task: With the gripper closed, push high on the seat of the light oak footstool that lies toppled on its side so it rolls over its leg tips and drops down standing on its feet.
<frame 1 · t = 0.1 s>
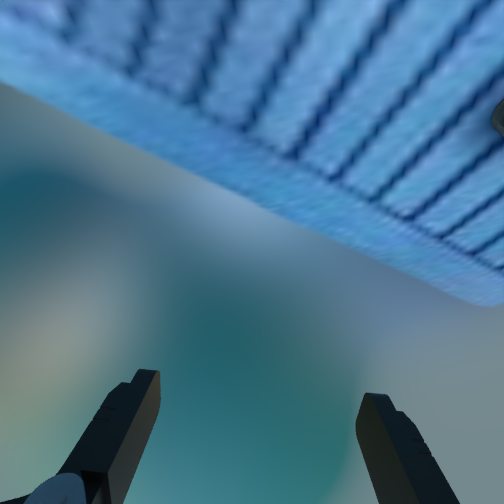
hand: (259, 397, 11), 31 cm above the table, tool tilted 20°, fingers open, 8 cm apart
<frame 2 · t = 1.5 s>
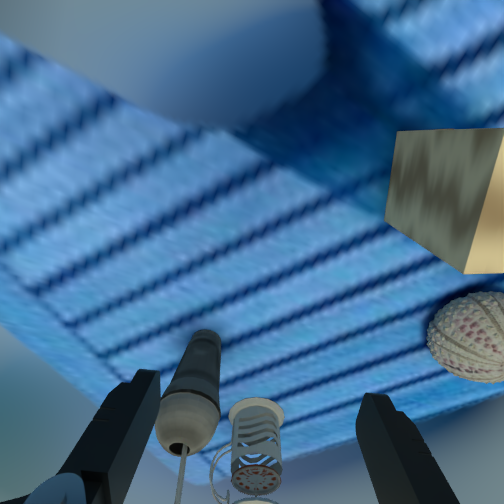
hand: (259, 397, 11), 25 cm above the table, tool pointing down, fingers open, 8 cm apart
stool: (390, 178, 31), on the table
beverage cup: (206, 340, 41), on the table
sea urchin shell: (465, 322, 39), on the table
french press: (251, 415, 48), on the table
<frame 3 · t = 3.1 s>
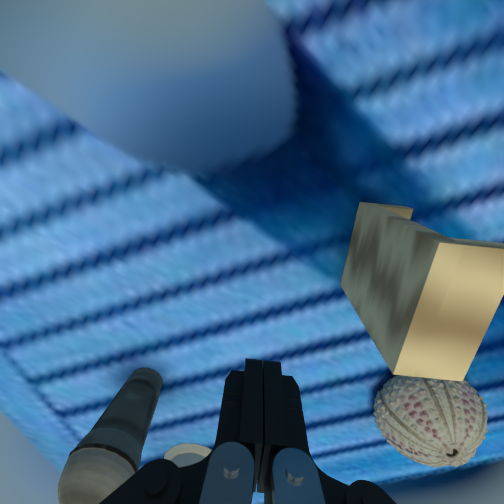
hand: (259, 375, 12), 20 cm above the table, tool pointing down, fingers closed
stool: (349, 245, 31), on the table
beverage cup: (147, 379, 39), on the table
sea urchin shell: (414, 394, 38), on the table
french press: (187, 462, 45), on the table
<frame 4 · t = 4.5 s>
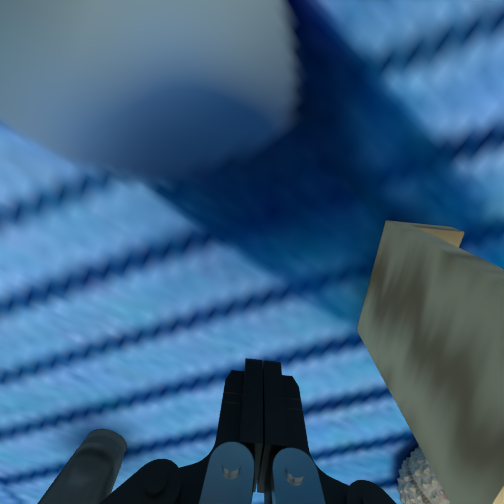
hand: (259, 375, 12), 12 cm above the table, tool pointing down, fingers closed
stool: (370, 279, 23), on the table
beverage cup: (107, 442, 31), on the table
sea urchin shell: (449, 461, 30), on the table
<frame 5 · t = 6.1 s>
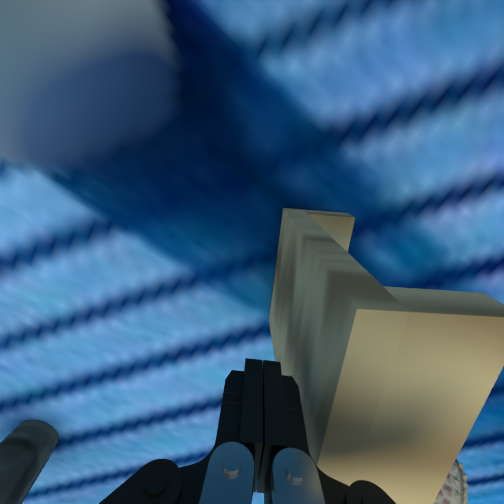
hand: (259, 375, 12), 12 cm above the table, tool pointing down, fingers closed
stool: (275, 268, 22), on the table, touching gripper
beverage cup: (39, 432, 31), on the table
sea urchin shell: (378, 451, 30), on the table
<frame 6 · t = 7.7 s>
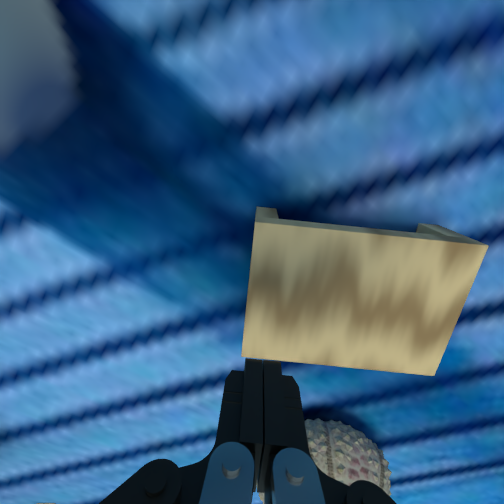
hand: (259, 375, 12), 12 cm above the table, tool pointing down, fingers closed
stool: (247, 295, 18), point 5 cm above the table, tilted 90°
sea urchin shell: (314, 447, 30), on the table
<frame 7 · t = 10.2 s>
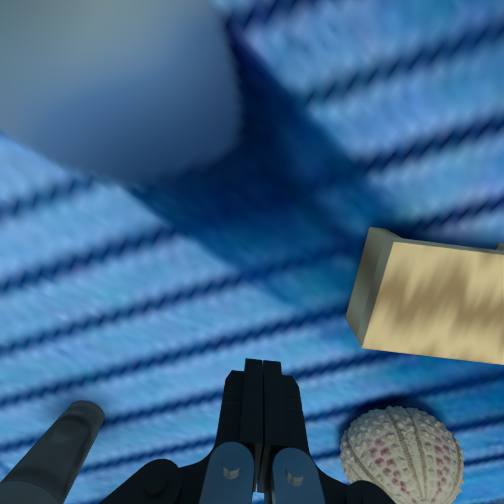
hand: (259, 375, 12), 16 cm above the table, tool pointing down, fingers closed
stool: (376, 298, 23), point 5 cm above the table, tilted 90°
beverage cup: (87, 413, 35), on the table
sea urchin shell: (386, 433, 35), on the table
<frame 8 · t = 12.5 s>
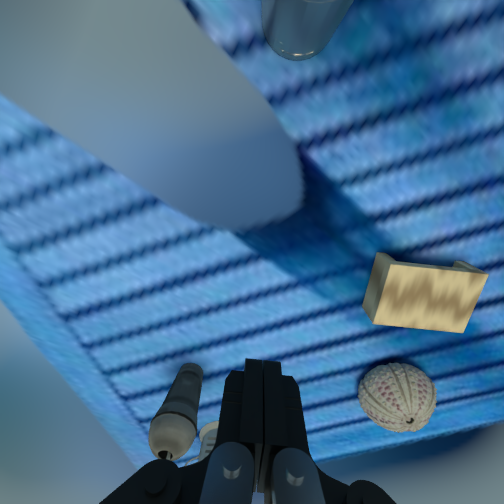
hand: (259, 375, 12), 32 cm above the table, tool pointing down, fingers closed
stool: (381, 295, 40), point 5 cm above the table, tilted 90°
beverage cup: (191, 371, 53), on the table
sea urchin shell: (388, 382, 52), on the table
french press: (217, 436, 59), on the table
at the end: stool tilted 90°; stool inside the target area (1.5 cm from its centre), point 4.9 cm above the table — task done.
